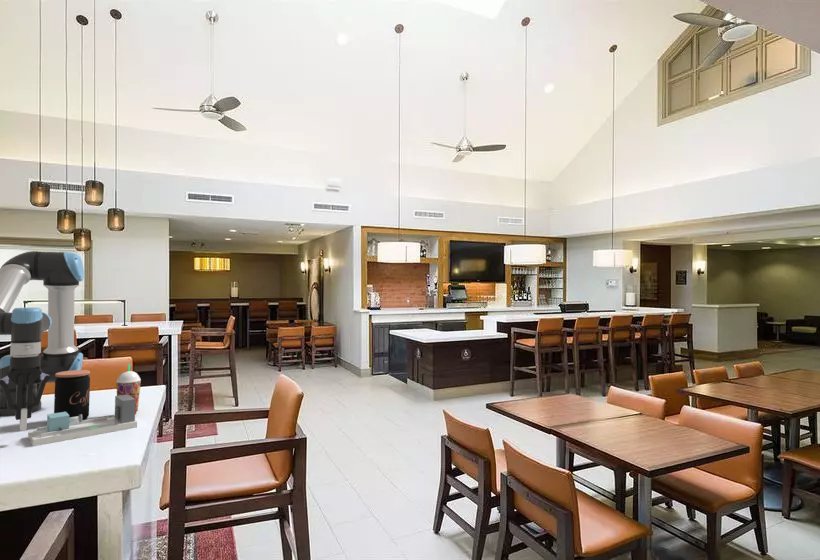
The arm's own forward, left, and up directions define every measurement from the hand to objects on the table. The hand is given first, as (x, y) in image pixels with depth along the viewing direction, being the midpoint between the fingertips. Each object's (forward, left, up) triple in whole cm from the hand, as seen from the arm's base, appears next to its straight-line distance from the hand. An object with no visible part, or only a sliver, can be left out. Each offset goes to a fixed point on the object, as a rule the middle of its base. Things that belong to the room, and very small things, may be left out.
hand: (23, 429), depth 145 cm
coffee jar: (-20, +16, -5) cm, 26 cm away
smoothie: (-14, +33, -5) cm, 36 cm away
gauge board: (0, +16, -4) cm, 17 cm away
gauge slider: (+1, +11, -2) cm, 11 cm away
